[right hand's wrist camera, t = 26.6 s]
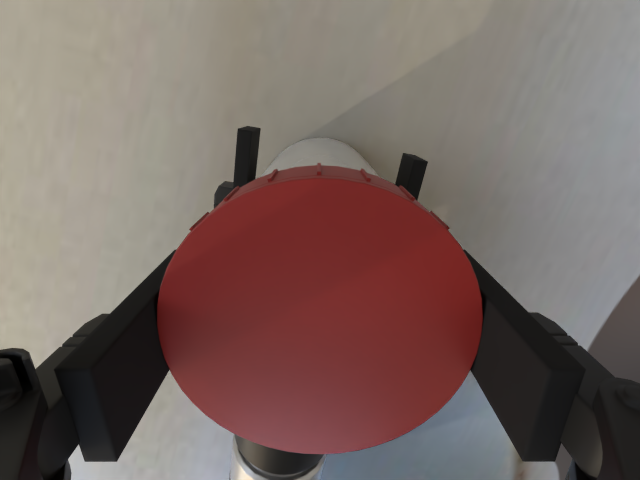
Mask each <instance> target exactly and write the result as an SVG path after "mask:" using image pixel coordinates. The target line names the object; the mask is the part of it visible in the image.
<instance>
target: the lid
mask: <svg viewBox="0 0 640 480" xmlns="http://www.w3.org/2000/svg"><path fill="white" fill-rule="evenodd" d="M448 229H449V227H448V226H447V225H446V224H445V223H444V222H443V221H442V220H441V219H439V218H438V217H437V216H436V215H435V214H434V213H433V212H432V211H430V212H429V211H428V210H427V209H426V208H424V207H423V206H422V205H421V204H420V203H419V202H418V201H417V200H416V199H415V198H414V197H413V196H412V195H411V194H410V193H409V192H408V191H407V190H406V189H405V188H404V187H403V186H401V185H400V186H399V187H398V186H396V185H395V184H393V183H390V182H388V181H386V180H384V179H382V178H380V177H378V176H375V175H372V174H369V173H367V172H366V171H365V169H362V168H361V170H356V169H351V168H345V167H340V166H324V165H321V163H317V165H313V166H301V167H294V168H289V169H285V170H280V171H278V169H274V170H273V172H272V173H270V174H268V175H265V176H262V177H260V178H257V179H255V180H253V181H251V182H250V183H248V184H246V185H244V186H242V187H239V186H237V187H236V188H235V189H233V190H232V191H231V192H230V193H229V194H228V195H227V196H226V197H225V198H224V199H223V201H222V202H221V203H220V204H219V205H218V206H217V207H216V208H214V209H213V210H212V211H211V212H210V213H209V212H207V213H206V214H205V215H204V216H203V217H202V218H201V219H199V220H198V221H197V222H196V223H195V224H194V225H193V226H192V227H191V228H190V229H189V230H191V232H190V233H189V234H188V235H187V237H186V238H185V239H184V241H183V242H182V243H181V245H180V246H179V247H178V249H177V250H176V252H175V253H174V255H173V257H172V259H171V261H170V263H169V265H168V267H167V269H166V272H165V275H164V277H163V280H162V283H161V286H160V292H159V298H158V303H157V328H158V334H159V340H160V345H161V348H162V352H163V355H164V358H165V361H166V363H167V365H168V367H169V369H170V371H171V374H172V375H173V377H174V379H175V380H176V382H177V383H178V385H179V386H180V388H181V389H182V391H183V392H184V393H185V394H186V395H187V397H188V398H189V399H190V400H191V401H192V402H193V404H195V405H196V406H197V407H198V408H199V409H200V410H201V411H202V412H203V413H204V414H205V415H207V416H208V417H209V418H211V419H212V420H213V421H215V422H216V423H217V424H219V425H220V426H222V427H224V428H225V429H227V430H229V431H231V432H232V433H234V434H236V435H238V436H240V437H242V438H245V439H247V440H249V441H251V442H254V443H257V444H260V445H263V446H266V447H269V448H274V449H278V450H283V451H288V452H296V453H303V454H335V453H345V452H351V451H357V450H362V449H366V448H370V447H373V446H377V445H380V444H382V443H385V442H388V441H391V440H393V439H395V438H397V437H399V436H401V435H404V434H406V433H408V432H410V431H411V430H413V429H414V428H416V427H418V426H419V425H421V424H422V423H424V422H425V421H427V420H428V419H429V418H430V417H432V416H433V415H434V414H435V413H437V412H438V411H439V410H440V409H441V408H442V407H443V406H444V405H445V404H446V403H447V402H448V401H449V400H450V399H451V398H452V396H453V395H454V394H455V393H456V391H457V390H458V389H459V387H460V386H461V385H462V383H463V381H464V380H465V378H466V376H467V375H468V373H469V371H470V369H471V367H472V364H473V362H474V360H475V357H476V355H477V352H478V348H479V343H480V339H481V333H482V324H483V310H482V298H481V293H480V289H479V284H478V280H477V278H476V275H475V273H474V270H473V268H472V265H471V263H470V261H469V259H468V258H467V256H466V254H465V253H464V251H463V249H462V248H461V246H460V244H459V243H458V242H457V241H456V240H455V238H454V237H453V236H452V235H451V234H450V232H449V231H448Z"/></svg>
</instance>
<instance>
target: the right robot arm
mask: <svg viewBox="0 0 640 480" xmlns="http://www.w3.org/2000/svg"><path fill="white" fill-rule="evenodd" d="M463 251H464V253H465V254H466V256H467V258H468V259H469V261H470V263H471V265H472V268H473V270H474V273H475V275H476V278H477V280H478V284H479V289H480V293H481V298H482V310H483V324H482V333H481V339H480V343H479V348H478V352H477V355H476V357H475V360H474V362H473V364H472V367H471V369H470V370H471V372H472V373H473V375H474V377H475V379H476V380H477V382H478V384H479V386H480V387H481V389H482V391H483V393H484V394H485V396H486V398H487V400H488V401H489V403H490V405H491V406H492V408H493V410H494V412H495V413H496V415H497V417H498V419H499V420H500V422H501V424H502V426H503V427H504V429H505V431H506V433H507V434H508V436H509V438H510V440H511V441H512V443H513V445H514V447H515V448H516V450H517V452H518V454H519V455H520V457H521V459H522V461H555V460H556V457H557V454H558V451H559V448H560V445H561V443H562V444H563V446H564V447H565V448H566V450H567V451H568V452H569V454H570V455H571V457H572V458H573V459H572V461H571V464H570V467H569V470H568V473H567V475H566V478H565V480H640V383H637V382H634V381H632V380H627V379H622V378H615V377H614V376H613V375H612V374H611V373H610V372H609V371H607V370H606V369H605V368H604V367H603V366H602V365H601V364H600V363H599V362H598V361H597V360H596V359H594V358H593V357H592V356H591V355H590V354H589V353H588V352H587V351H586V350H585V349H584V348H582V347H581V346H578V343H577V342H576V341H575V340H574V339H573V338H572V337H570V336H568V335H567V333H566V332H565V331H564V330H563V329H562V328H561V327H560V326H558V325H557V324H556V323H555V322H554V321H552V320H550V319H548V318H546V317H545V316H543V315H541V314H539V313H528V312H527V311H526V310H525V309H524V308H523V307H522V306H521V305H520V304H519V303H518V302H517V301H516V300H515V299H514V298H513V297H512V296H511V295H510V294H509V293H508V292H507V291H506V290H505V289H504V288H503V287H502V286H501V285H500V284H499V283H498V282H497V281H496V280H495V279H494V278H493V277H492V276H491V275H490V274H489V273H488V272H487V271H486V270H485V269H484V268H483V267H482V266H481V265H480V264H479V263H478V262H477V261H476V260H475V259H474V258H473V257H472V256H471V255H470V254H469V253H468V252H467V251H466V250H463ZM175 252H176V250H174V251H173V252H172V253H171V254H170V255H169V256H168V257H167V258H166V259H165V260H164V261H163V262H162V263H161V264H160V265H159V266H158V267H157V268H156V269H155V270H154V271H153V272H152V273H151V274H150V275H149V276H148V277H147V278H146V279H145V280H144V281H143V282H142V283H141V284H140V285H139V286H138V287H137V288H136V289H135V290H134V291H133V292H132V293H131V294H130V295H129V296H128V297H127V298H126V299H125V300H124V301H123V302H122V303H121V304H119V305H118V306H117V307H116V308H115V309H114V310H113V311H112V312H111V313H110V314H101V315H99V316H98V317H96V318H94V319H92V320H90V321H89V322H87V323H85V324H84V325H83V326H82V327H81V328H80V329H79V330H78V331H76V332H75V333H74V334H73V337H70V338H69V339H68V340H67V341H66V342H65V343H63V344H62V347H59V348H58V349H57V350H56V351H55V352H54V353H53V354H52V355H50V356H49V357H48V358H47V359H46V360H45V361H44V362H43V363H42V364H41V365H40V366H39V367H37V368H36V369H35V367H34V365H33V362H32V359H31V356H30V354H29V352H28V351H26V350H24V349H18V348H10V349H3V350H0V480H71V469H70V464H69V461H68V458H69V457H70V456H71V454H72V453H73V451H74V450H75V449H76V447H77V446H78V444H79V446H80V449H81V452H82V455H83V458H84V460H85V462H117V460H118V459H119V457H120V455H121V453H122V452H123V450H124V448H125V446H126V445H127V443H128V441H129V439H130V438H131V436H132V434H133V432H134V431H135V429H136V427H137V425H138V424H139V422H140V420H141V418H142V417H143V415H144V413H145V411H146V410H147V408H148V406H149V404H150V403H151V401H152V399H153V397H154V396H155V394H156V392H157V390H158V389H159V387H160V385H161V383H162V382H163V380H164V378H165V376H166V375H167V373H168V371H169V367H168V365H167V363H166V361H165V358H164V355H163V352H162V348H161V345H160V340H159V334H158V328H157V303H158V298H159V292H160V286H161V283H162V280H163V277H164V275H165V272H166V269H167V267H168V265H169V263H170V261H171V259H172V257H173V255H174V253H175Z"/></svg>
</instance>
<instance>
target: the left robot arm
mask: <svg viewBox="0 0 640 480" xmlns="http://www.w3.org/2000/svg"><path fill="white" fill-rule="evenodd" d="M259 137H260V128H256V127H250V126H246V127H243V128H239V129H238V133H237V145H236V158H235V170H234V183H232V182H226V181H225V182H223V183H222V184H221V185H220V186H219V187H218V189H217V191H216V193H215V198H214V208H216V207H217V206H218V205H219V204H220V203H221V202H222V201H223V199H224V198H225V197H226V196H227V195H228V194H229V193H230V192H231V191H232V190H233V189H235V188H236V187H237V186H239V187H242V186H244V185H246V184H248V183H250V182H251V181H253V180H255V176H256V167H257V157H258V147H259ZM427 163H428V162H427V161H425V160H423V159H421V158H419V157H417V156H415V155H411V154H405V153H403V155H402V159H401V164H400V168H399V172H398V176H397V180H396V184H395V185H396V186H398V187H399V186H400V185H401V186H403V187H404V188H405V189H406V190H407V191H408V192H409V193H410V194H411V195H412V196H413V197H414V198H415V199H416V200H417V199H418V195H419V192H420V188H421V184H422V181H423V177H424V174H425V170H426V166H427ZM326 455H327V454H303V453H296V452H288V451H283V450H278V449H274V448H269V447H266V446H263V445H260V444H257V443H254V442H251V441H249V440H247V439H245V438H242V437H240V436H238V435H236V434H234V438H233V447H232V458H231V469H230V480H320V478H321V474H322V470H323V467H324V463H325V459H326Z"/></svg>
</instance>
